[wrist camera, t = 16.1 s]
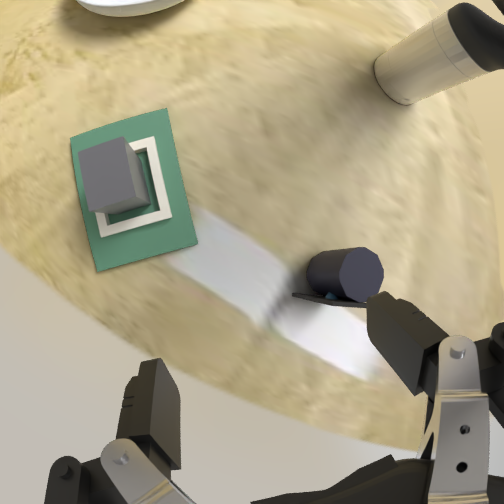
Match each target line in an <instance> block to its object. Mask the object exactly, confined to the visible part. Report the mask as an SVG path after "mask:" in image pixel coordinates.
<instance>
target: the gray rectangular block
mask: <svg viewBox="0 0 504 504" xmlns="http://www.w3.org/2000/svg"><path fill="white" fill-rule="evenodd" d="M78 158H79V164H80V169H81V175H82V180H83V185H84V190H85V195H86V200H87V204H88V209H89V212H96V213H107V214H117V215H118V214H121V213H124V212H127V211H130V210H134V209H137V208H140V207H143V206H147V205H150V204H151V200H150V196H149V192H148V188H147V184H146V179H145V175H144V170H143V166H142V161H141V160H140V158H139V157H138V156H137V154H136V153H135V151H134V150H133V149H132V147H131V146H130V145H129V143H128V142H127V140H126V139H125V138H124V136H122V137H119V138H115V139H112V140H110V141H107V142H104V143H101V144H98V145H95V146H92V147H90V148H87V149H84V150H82V151H79V152H78Z"/></svg>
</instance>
